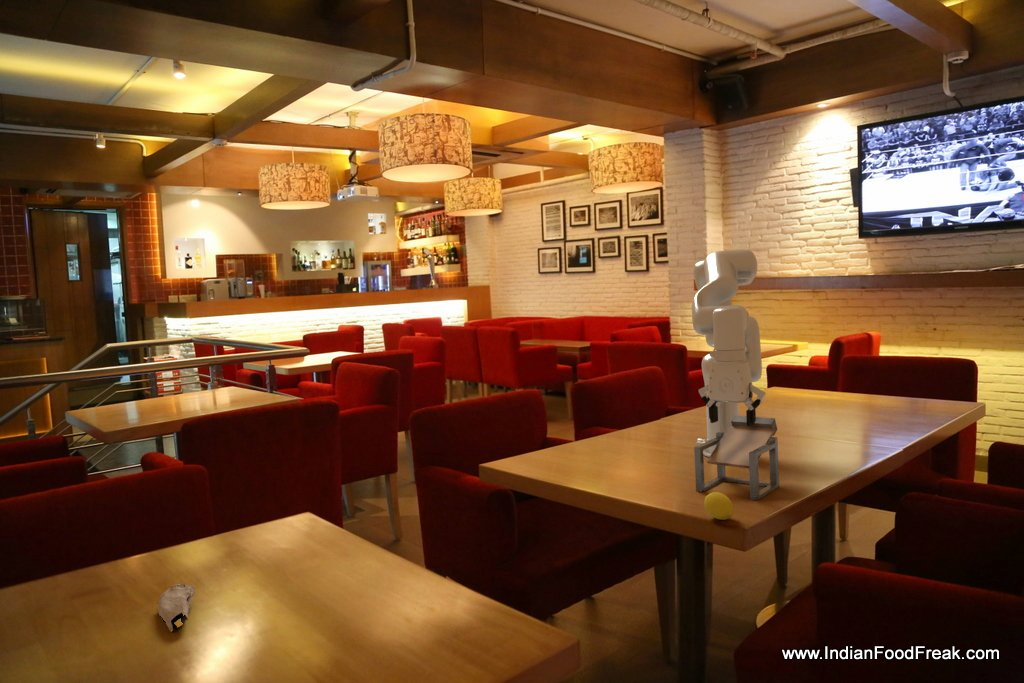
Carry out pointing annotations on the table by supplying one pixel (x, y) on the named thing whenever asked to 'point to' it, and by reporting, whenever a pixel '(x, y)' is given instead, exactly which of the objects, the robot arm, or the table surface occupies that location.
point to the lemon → (719, 505)
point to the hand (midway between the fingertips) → (732, 423)
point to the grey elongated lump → (176, 603)
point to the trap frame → (753, 468)
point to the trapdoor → (742, 441)
